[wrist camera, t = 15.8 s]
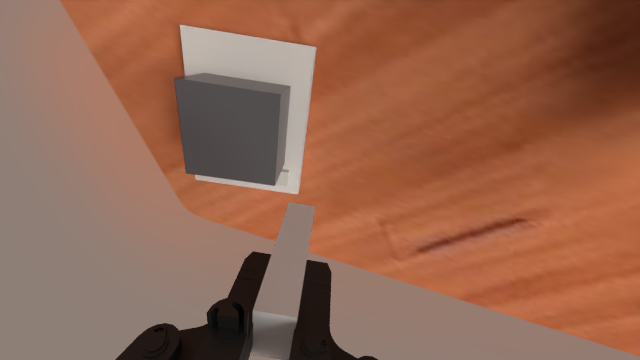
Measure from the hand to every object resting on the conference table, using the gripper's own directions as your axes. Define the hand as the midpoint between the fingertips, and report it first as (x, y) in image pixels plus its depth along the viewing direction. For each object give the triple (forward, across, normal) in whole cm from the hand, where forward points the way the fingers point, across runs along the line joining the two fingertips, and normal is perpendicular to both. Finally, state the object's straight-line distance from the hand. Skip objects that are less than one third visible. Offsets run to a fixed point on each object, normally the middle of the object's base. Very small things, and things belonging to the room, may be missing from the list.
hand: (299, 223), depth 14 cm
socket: (+20, -9, 0) cm, 22 cm away
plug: (+19, -9, 0) cm, 21 cm away
